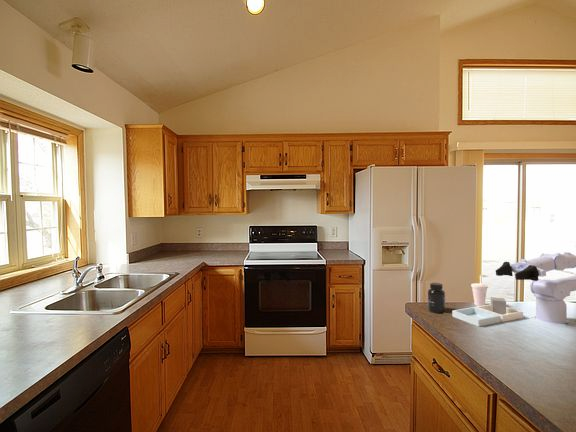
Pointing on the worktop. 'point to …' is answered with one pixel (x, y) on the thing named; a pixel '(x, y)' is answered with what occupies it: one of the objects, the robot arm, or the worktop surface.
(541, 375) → the worktop surface
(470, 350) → the worktop surface
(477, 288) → the smoothie
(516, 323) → the worktop surface
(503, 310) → the stone block
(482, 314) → the bin
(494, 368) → the worktop surface
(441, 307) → the supplement bottle
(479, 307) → the bin
